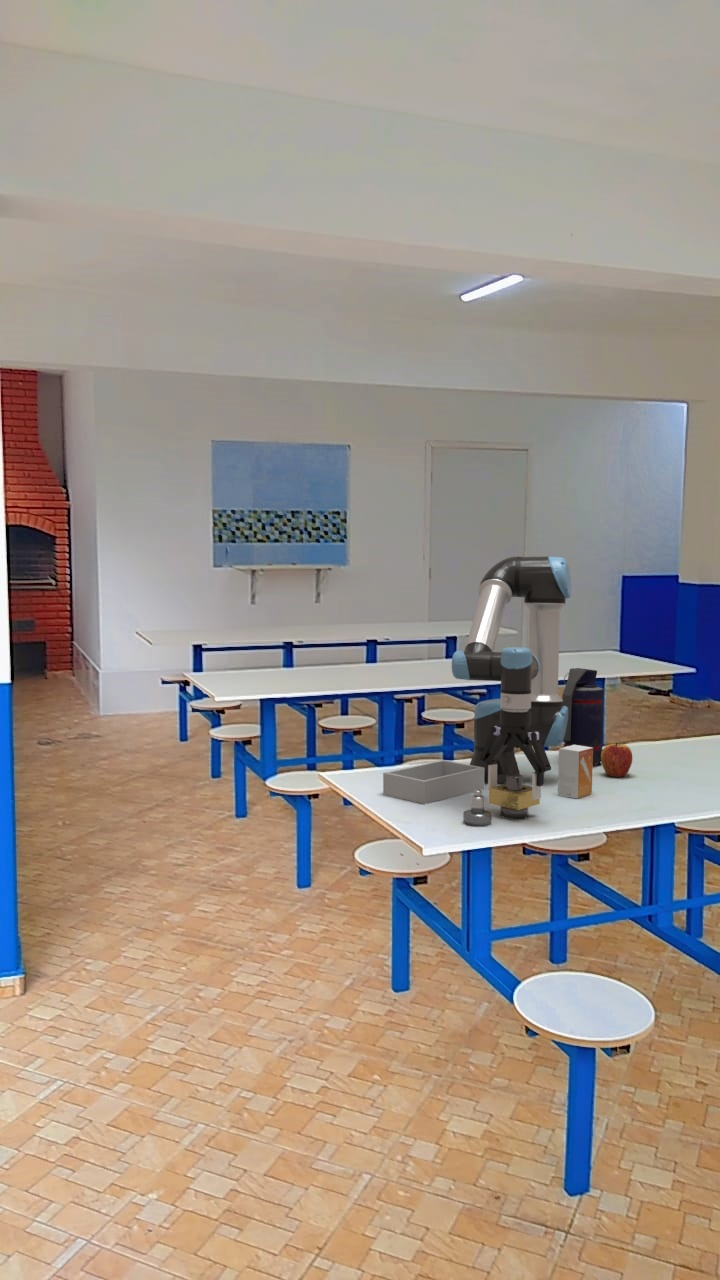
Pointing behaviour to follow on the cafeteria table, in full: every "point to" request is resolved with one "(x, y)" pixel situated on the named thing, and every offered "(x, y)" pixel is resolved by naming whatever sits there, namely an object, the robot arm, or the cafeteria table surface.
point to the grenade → (584, 711)
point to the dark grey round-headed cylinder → (515, 785)
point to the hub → (477, 812)
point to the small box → (575, 771)
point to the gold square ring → (512, 797)
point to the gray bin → (433, 781)
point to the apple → (616, 759)
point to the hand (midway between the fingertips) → (514, 794)
